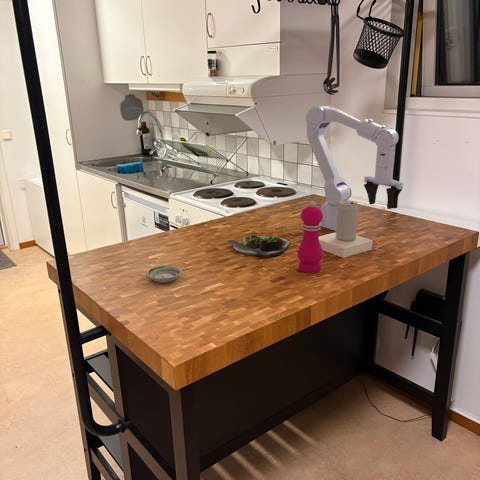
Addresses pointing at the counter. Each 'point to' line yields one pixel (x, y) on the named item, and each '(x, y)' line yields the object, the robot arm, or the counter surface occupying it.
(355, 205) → the beverage can
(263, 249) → the salad plate
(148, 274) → the saucer
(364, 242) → the block
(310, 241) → the pepper mill
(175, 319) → the counter surface
